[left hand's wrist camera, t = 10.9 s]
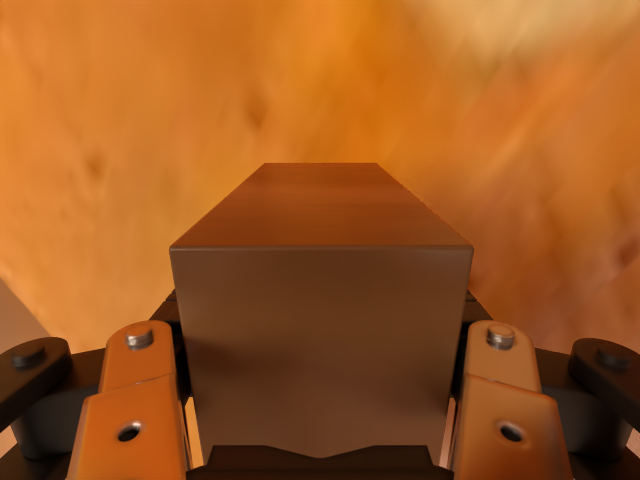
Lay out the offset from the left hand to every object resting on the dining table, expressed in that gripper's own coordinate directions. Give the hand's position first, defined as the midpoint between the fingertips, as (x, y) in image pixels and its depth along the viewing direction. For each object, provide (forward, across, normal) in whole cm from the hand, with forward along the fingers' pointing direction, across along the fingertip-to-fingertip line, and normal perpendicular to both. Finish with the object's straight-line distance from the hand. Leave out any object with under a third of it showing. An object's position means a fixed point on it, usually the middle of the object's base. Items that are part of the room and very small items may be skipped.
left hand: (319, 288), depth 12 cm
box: (+8, 0, +10) cm, 12 cm away
